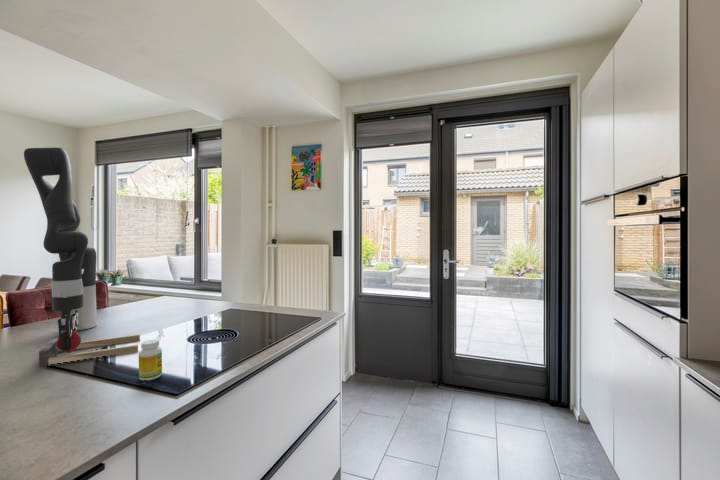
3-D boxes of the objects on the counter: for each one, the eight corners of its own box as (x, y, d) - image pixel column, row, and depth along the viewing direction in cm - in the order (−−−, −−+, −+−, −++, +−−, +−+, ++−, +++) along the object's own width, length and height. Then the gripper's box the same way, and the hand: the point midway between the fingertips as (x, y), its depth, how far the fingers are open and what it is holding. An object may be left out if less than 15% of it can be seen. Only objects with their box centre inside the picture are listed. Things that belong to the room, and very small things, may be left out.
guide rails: (52, 351, 110) (52, 338, 110) (139, 339, 123) (139, 327, 123) (39, 366, 98) (38, 351, 98) (137, 351, 110) (137, 337, 110)
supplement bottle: (140, 374, 92) (139, 340, 92) (163, 371, 95) (162, 337, 95) (137, 382, 88) (136, 346, 87) (161, 378, 90) (160, 343, 90)
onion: (86, 349, 110) (85, 325, 109) (69, 356, 104) (68, 330, 104) (69, 349, 110) (69, 324, 110) (52, 355, 105) (51, 330, 104)
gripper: (58, 291, 111) (59, 342, 111) (45, 299, 99) (47, 355, 99) (87, 289, 115) (88, 338, 115) (78, 296, 102) (79, 351, 103)
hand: (69, 346), depth 107 cm, fingers closed on onion, 6 cm apart
